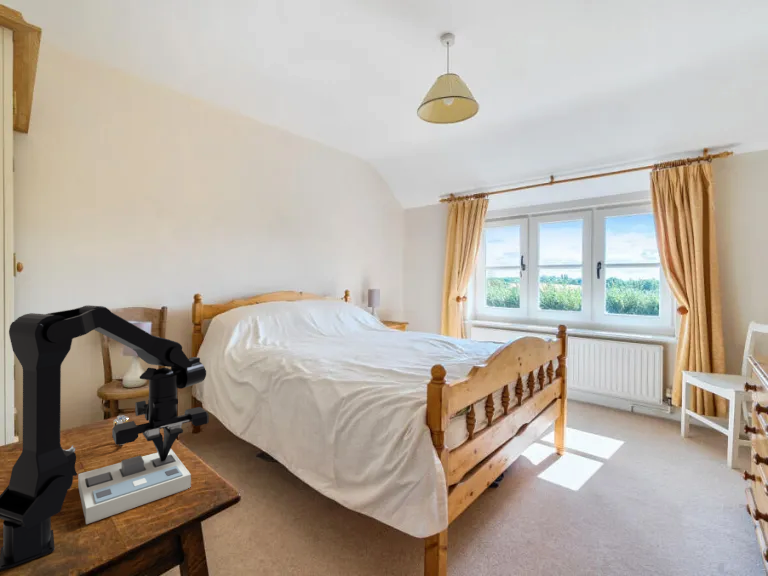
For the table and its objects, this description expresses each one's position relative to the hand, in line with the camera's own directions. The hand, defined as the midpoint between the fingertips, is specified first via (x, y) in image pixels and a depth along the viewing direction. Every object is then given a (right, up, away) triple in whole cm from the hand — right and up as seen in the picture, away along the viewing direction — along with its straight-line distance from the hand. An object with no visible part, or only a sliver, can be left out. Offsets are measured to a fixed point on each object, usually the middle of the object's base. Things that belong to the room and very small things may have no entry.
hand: (162, 460), depth 86 cm
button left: (-9, -3, -8) cm, 12 cm away
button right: (0, -3, 0) cm, 3 cm away
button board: (-3, -3, -6) cm, 7 cm away
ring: (-20, -3, +14) cm, 24 cm away
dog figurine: (-28, -3, +6) cm, 29 cm away
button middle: (-4, -1, -4) cm, 6 cm away
